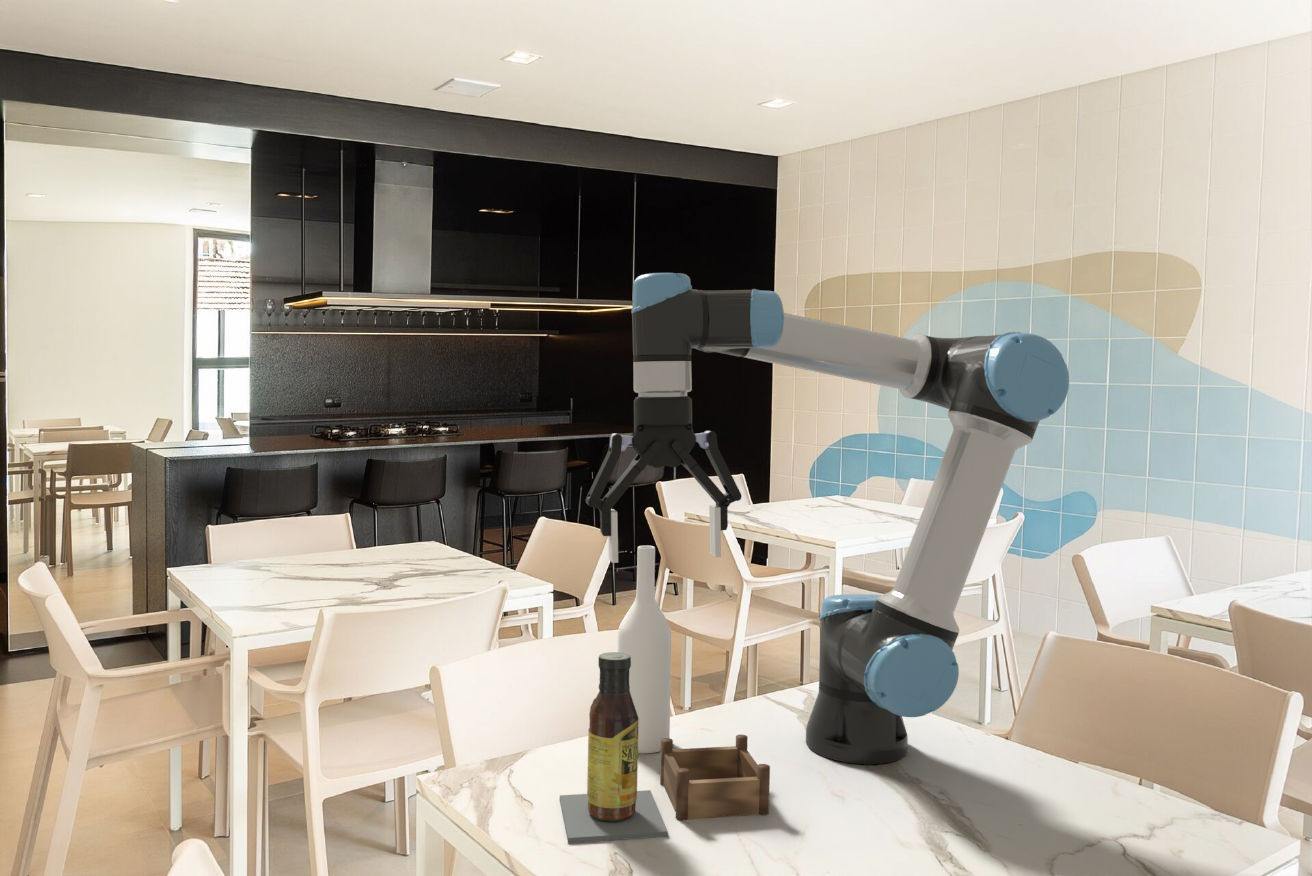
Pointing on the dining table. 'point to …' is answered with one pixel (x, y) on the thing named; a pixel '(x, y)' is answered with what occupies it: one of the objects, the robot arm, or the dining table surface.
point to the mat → (592, 829)
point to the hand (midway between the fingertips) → (665, 558)
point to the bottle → (648, 656)
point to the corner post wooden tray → (714, 781)
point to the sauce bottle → (613, 743)
